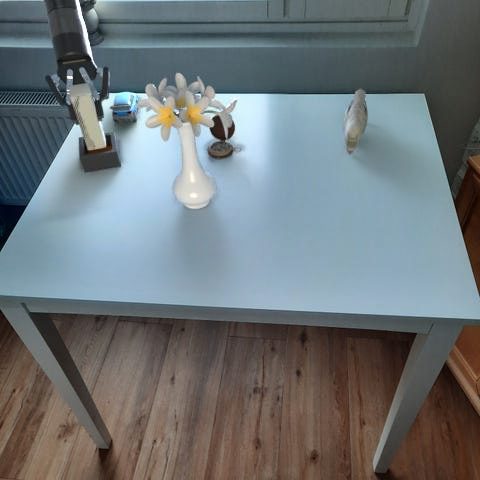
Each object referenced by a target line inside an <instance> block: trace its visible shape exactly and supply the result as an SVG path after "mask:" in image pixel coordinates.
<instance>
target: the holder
mask: <svg viewBox="0 0 480 480" xmlns="http://www.w3.org/2000/svg"><path fill="white" fill-rule="evenodd" d="M104 134H105V139H106V147H105V148H100V149H94V150H88V149H87V146H86V143H85V140H84V137H83V136H80V137H78V158H79V162H80V164H81V166H82V169H83V173H84V174H86V173H92V172H99V171H104V170H110V169H115V168H121V167H122V162H121V153H120V146H119V143H118V139H117V135H116V132H115V131H111V132H104Z"/></svg>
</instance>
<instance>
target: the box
mask: <svg viewBox="0 0 480 480" xmlns="http://www.w3.org/2000/svg"><path fill="white" fill-rule="evenodd" d="M69 94H70V99H71V102H72V104H73V107H74V110H75V113H76V116H77V119H78V122H79V125H78V126H79V128H80V131H81V134H82V137H84V140H85V143H86V146H87V149H88V150H94V149H100V148H105V147H106V139H105V134H104V133H105V131H104V127H103V125H102V121H99V120H98V117H97V113H96V108H95V104H94V101H95V99H94V97H93V95H92V92H91V89H90V85H89V84H88V83H84V84H78V85H73V86H69Z"/></svg>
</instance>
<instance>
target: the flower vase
mask: <svg viewBox="0 0 480 480" xmlns="http://www.w3.org/2000/svg"><path fill="white" fill-rule="evenodd" d="M174 79H175V85H176V87H175V86H173V85H167V82H168V78H167V77H164V78H163V79H162V80H161V81H160V82H159V85H158V87H156V86H155V85H154V84H153V83H148V84H147V85H146V86H145V90H144V91H145V94H146V97H148V98H144V99H142V100H139V103H138V104H137V105H136V108H137V109H141V108H145V112H146V113H148V112H150V111H153V112H154V113H155V114H153V115H150V116H148V117H147V119H146V120H145V123H144V124H145V127H146V128H148V129H157V128H159V127H160V137H161V139H162V141H163V142H166V143H167V142H168V141H169V140H170V136H171V132H172V131H171V130H172V128H174V129H176V131H177V134H178V137H179V143H180V149H181V150H180V151H181V160H182V162H181V163H182V164H181V168H180V169H181V170H180V172H179V173H178V174H177V175H176V176H175V178H174V180H173V183H172V187H171V188H172V194H173V195H174V198H175V199H176V200H177V201H179V202H180V203H182V204H183V206H184V207H186V208H188V209H190V210H199V209H203V208H205V207H207V206H208V205H209V204H210V203H211V200H212V199H213V198H214V196H215V194H216V193H217V189H218V186H217V181H216V179H215V177H214V176H213V174H212V173H211V172H209V171H208V170H207V169H204V167H203V166H202V164H201V161H200V158H199V154H198V153H199V152H198V149H197V148H198V147H197V141H196V138H199V137H200V136H201V132H202V128H201V126H204V127H206V128H209V127H210V128H211V127H213V126H214V122H213V120H212V117H210V116H209V115H207V114H213V115H219V116H220V118H221V121H222V124H223V127H224V131H225V135H226V140H225V141H228V140H227V137H228V128H229V127H231V126H232V120H233V115H232V114H230V113H232V112H233V111H234V109H235V107H236V106H237V103H238V98H237V97H235V98H234V99H233V100H232V101H231V102H230V103H229V104H228V105H227V106H225V105H224V103H222V102H220V101H218V100H216V99H215V97H216V92H215V88H213V86H211V85H208V86H206V88H205V84H204V83H203V81H202V79H201V78H200V76H198V75H197V76H196V79H197V81H194V82H191V83H190V84H189V85H188V83H187V81H186V78H185V76H184V75H183V74H182V73H180V72H176V73H175V76H174ZM199 92H200V95H199V94H198V93H199ZM197 94H198V95H197ZM164 98H165V100H164ZM208 107H210V108H214V109H217V110H219V111H216V110H209V109H208ZM175 110H177V111H178V112H176V111H175Z"/></svg>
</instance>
